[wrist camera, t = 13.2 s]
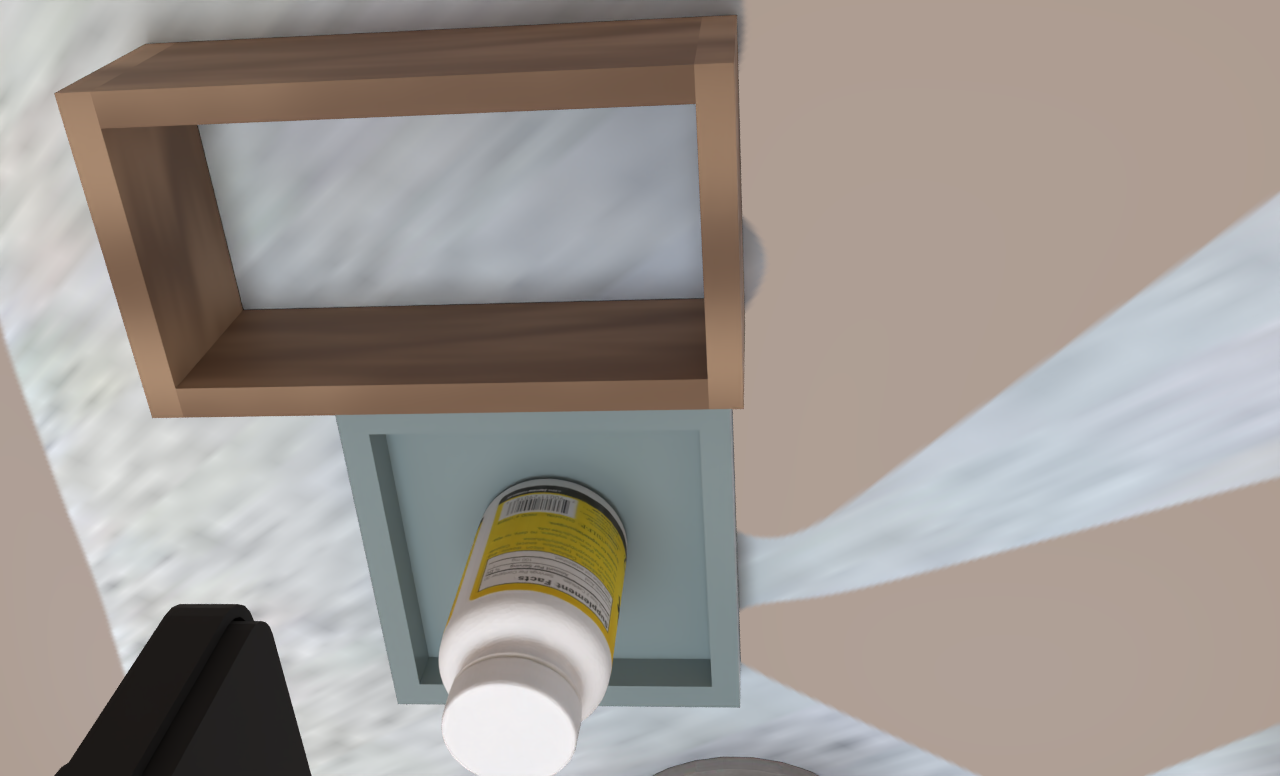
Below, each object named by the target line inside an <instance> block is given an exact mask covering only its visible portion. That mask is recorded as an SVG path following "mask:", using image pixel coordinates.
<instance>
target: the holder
mask: <svg viewBox="0 0 1280 776" xmlns="http://www.w3.org/2000/svg"><path fill="white" fill-rule="evenodd" d="M738 84H739V80H738V42H737V15H726V16H706V17H685V18H665V19H645V20H624V21H604V22H584V23H563V24H543V25H523V26H502V27H482V28H462V29H441V30H421V31H401V32H380V33H360V34H340V35H319V36H299V37H278V38H258V39H238V40H217V41H197V42H177V43H156V44H145V45H143V46H141V47H139V48H137V49H135V50H133V51H132V52H130V53H128V54H126V55H124V56H122V57H120V58H119V59H117V60H115V61H113V62H111V63H109V64H108V65H106V66H104V67H102V68H100V69H98V70H96V71H95V72H93V73H91V74H89V75H87V76H85V77H84V78H82V79H80V80H78V81H76V82H74V83H72V84H71V85H69V86H67V87H65V88H63V89H61V90H60V91H58V92H56V93H54V94H55V97H56V101H57V104H58V107H59V111H60V114H61V117H62V120H63V124H64V127H65V130H66V134H67V137H68V140H69V144H70V147H71V150H72V154H73V157H74V160H75V164H76V167H77V170H78V173H79V177H80V180H81V183H82V187H83V190H84V193H85V197H86V200H87V203H88V207H89V210H90V213H91V216H92V220H93V223H94V226H95V230H96V233H97V236H98V240H99V243H100V246H101V250H102V253H103V256H104V259H105V263H106V266H107V269H108V273H109V276H110V279H111V283H112V286H113V289H114V293H115V296H116V299H117V302H118V306H119V309H120V312H121V316H122V319H123V322H124V326H125V329H126V332H127V336H128V339H129V342H130V345H131V349H132V352H133V355H134V359H135V362H136V365H137V369H138V372H139V375H140V379H141V382H142V385H143V388H144V392H145V395H146V398H147V402H148V405H149V408H150V412H151V415H152V418H179V417H245V416H310V415H375V414H441V413H506V412H572V411H637V410H702V409H744V351H745V349H744V348H745V310H744V272H743V234H742V197H741V159H740V119H739V85H738ZM680 104H696V120H697V143H698V166H699V189H700V212H701V235H702V258H703V281H704V299H670V300H629V301H589V302H549V303H509V304H468V305H428V306H388V307H348V308H307V309H267V310H243V308H242V304H241V300H240V296H239V292H238V288H237V284H236V280H235V276H234V272H233V268H232V264H231V260H230V256H229V252H228V248H227V244H226V240H225V236H224V232H223V228H222V224H221V220H220V215H219V211H218V207H217V203H216V199H215V195H214V191H213V187H212V183H211V179H210V175H209V171H208V167H207V163H206V159H205V155H204V151H203V147H202V143H201V139H200V135H199V131H198V127H197V125H200V124H224V123H248V122H272V121H296V120H320V119H344V118H368V117H392V116H416V115H440V114H464V113H488V112H512V111H536V110H560V109H584V108H608V107H632V106H656V105H680Z"/></svg>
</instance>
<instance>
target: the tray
mask: <svg viewBox="0 0 1280 776" xmlns="http://www.w3.org/2000/svg"><path fill="white" fill-rule="evenodd" d="M335 416H336V420H337V425H338V430H339V434H340V439H341V443H342V448H343V453H344V457H345V462H346V466H347V471H348V476H349V480H350V485H351V489H352V494H353V499H354V503H355V508H356V512H357V517H358V522H359V526H360V531H361V536H362V540H363V545H364V549H365V554H366V559H367V563H368V568H369V572H370V577H371V582H372V586H373V591H374V595H375V600H376V605H377V609H378V614H379V618H380V623H381V628H382V632H383V637H384V641H385V646H386V651H387V655H388V660H389V665H390V669H391V674H392V678H393V683H394V688H395V692H396V697H397V701H398V704H446V702H447V698H448V695H449V694H448V692H447V690H446V688H445V686H444V684H443V682H442V678H441V675H440V670H439V649H440V645H441V641H442V637H443V633H444V630H445V627H446V624H447V621H448V618H449V615H450V612H451V609H452V606H453V603H454V600H455V597H456V594H457V590H458V587H459V584H460V581H461V578H462V575H463V572H464V569H465V566H466V563H467V560H468V557H469V554H470V551H471V547H472V544H473V541H474V539H475V535H476V533H477V530H478V527H479V524H480V522H481V519H482V517H483V515H484V513H485V511H486V509H487V508H488V506H489V505H490V504H491V503H492V502H493V500H494V499H495V498H496V497H497V496H499V495H500V494H501V493H502V492H504V491H506V490H507V489H509V488H511V487H513V486H515V485H517V484H520V483H522V482H526V481H530V480H536V479H558V480H564V481H569V482H573V483H576V484H578V485H581V486H583V487H585V488H587V489H589V490H591V491H593V492H594V493H596V494H597V495H599V496H600V497H601V498H602V499H604V500H605V501H606V502H607V503H608V504H609V505H610V506H611V507H612V508H613V510H614V511H615V512H616V514H617V515H618V517H619V519H620V521H621V523H622V524H623V527H624V530H625V533H626V539H627V561H626V569H625V576H624V583H623V590H622V597H621V605H620V612H619V619H618V626H617V633H616V640H615V647H614V655H613V663H612V670H611V675H610V679H609V684H608V687H607V690H606V693H605V695H604V697H603V699H602V701H601V703H600V704H599V705H598V706H645V707H740V676H741V656H740V626H739V625H740V624H739V594H738V564H737V533H736V505H735V504H736V503H735V472H734V442H733V412H732V409H702V410H637V411H572V412H506V413H441V414H375V415H335Z"/></svg>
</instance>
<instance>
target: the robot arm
mask: <svg viewBox="0 0 1280 776" xmlns="http://www.w3.org/2000/svg"><path fill="white" fill-rule="evenodd" d="M55 776H311V772H310V769H309V765H308V761H307V758H306V754H305V750H304V747H303V743H302V739H301V736H300V732H299V729H298V725H297V721H296V718H295V714H294V710H293V707H292V703H291V699H290V696H289V692H288V688H287V685H286V681H285V677H284V674H283V670H282V666H281V663H280V659H279V656H278V652H277V648H276V645H275V641H274V637H273V634H272V631H271V629H270V627H269V625H268V624H267V623H266V622H262V621H254V620H253V618H252V615H251V613H250V611H249V610H248V609H247V608H246V607H245V606H243V605H239V604H179V605H177V606H174V607H172V608H171V609H170V610H169V611H168V613H167V614H166V615H165V616H164V618H163V619H162V621H161V622H160V624H159V625H158V627H157V628H156V630H155V631H154V633H153V635H152V636H151V638H150V639H149V641H148V642H147V644H146V645H145V647H144V648H143V650H142V651H141V653H140V654H139V656H138V657H137V659H136V661H135V662H134V664H133V665H132V667H131V668H130V670H129V671H128V673H127V674H126V676H125V677H124V679H123V680H122V682H121V683H120V685H119V687H118V688H117V690H116V691H115V693H114V694H113V696H112V697H111V699H110V700H109V702H108V703H107V705H106V706H105V708H104V709H103V711H102V712H101V714H100V716H99V717H98V719H97V720H96V722H95V724H94V725H93V726H92V728H91V729H90V731H89V732H88V734H87V736H86V737H85V739H84V740H83V742H82V743H81V745H80V746H79V748H78V749H77V751H76V752H75V754H74V755H73V757H72V758H71V760H70V761H69V763H67V764H66V765H64V766H63V767H61V768H60V770H59V771H58V772H57V773H56V774H55Z"/></svg>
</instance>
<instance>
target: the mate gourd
mask: <svg viewBox="0 0 1280 776" xmlns="http://www.w3.org/2000/svg"><path fill="white" fill-rule="evenodd" d="M653 776H818V775H816V774H814V773H812V772H810V771H807V770H804V769H801V768H798V767H795V766H792V765H789V764H786V763H782V762H776V761H770V760H764V759H758V758H745V757H720V758H712V759H704V760H696V761H692V762H688V763H685V764H681V765H678V766H674V767H671V768H668V769H666V770H664V771H662V772H660V773H657V774H655V775H653Z"/></svg>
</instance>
